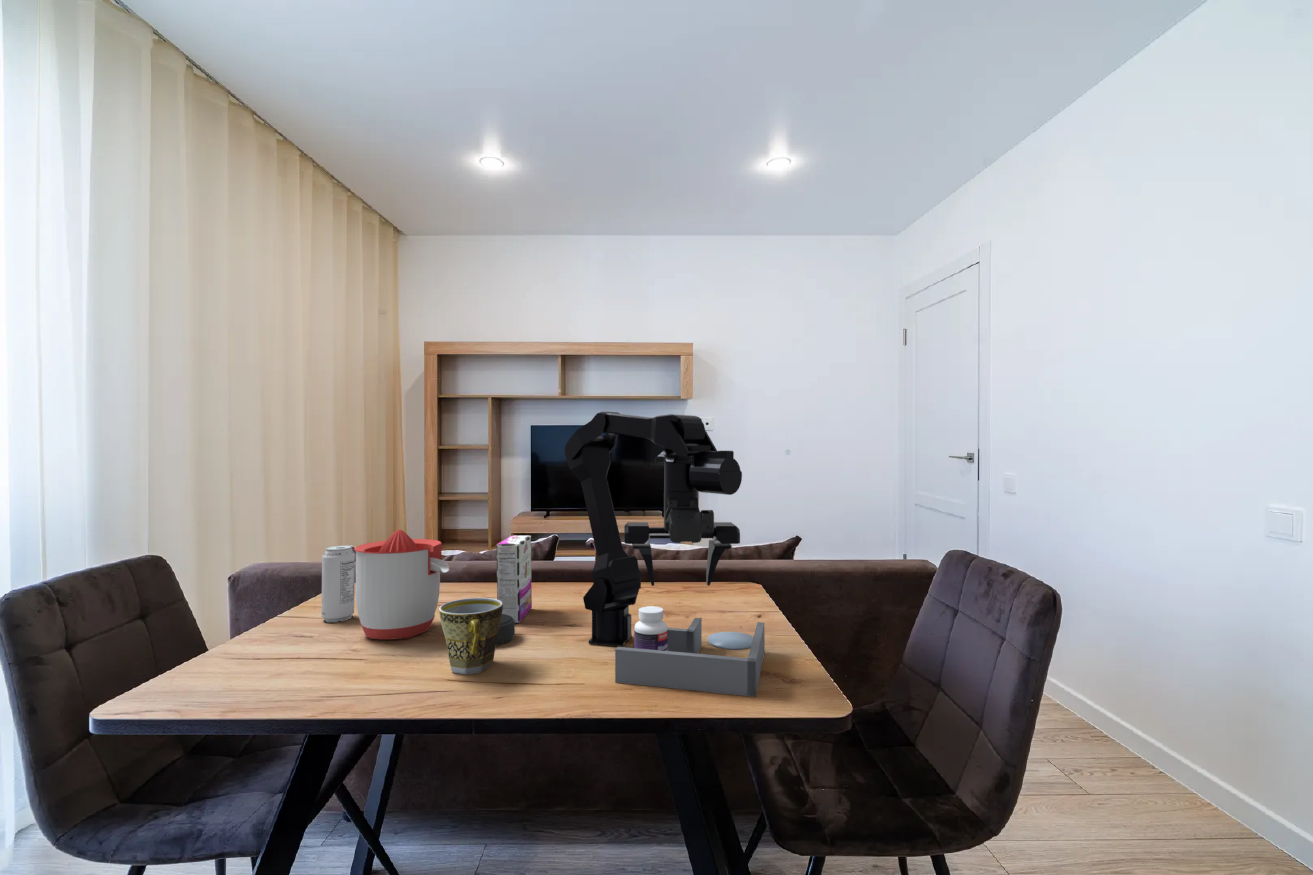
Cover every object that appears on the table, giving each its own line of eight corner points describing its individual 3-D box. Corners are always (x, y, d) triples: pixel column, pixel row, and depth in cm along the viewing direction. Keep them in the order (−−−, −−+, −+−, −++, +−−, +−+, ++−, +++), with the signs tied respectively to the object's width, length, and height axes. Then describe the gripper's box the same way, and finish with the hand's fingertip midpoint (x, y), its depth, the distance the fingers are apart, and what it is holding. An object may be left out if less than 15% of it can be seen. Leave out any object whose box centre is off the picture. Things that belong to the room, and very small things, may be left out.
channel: (615, 682, 88) (615, 649, 88) (648, 641, 107) (648, 614, 107) (755, 696, 83) (755, 661, 83) (764, 651, 101) (764, 622, 101)
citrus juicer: (430, 645, 105) (431, 535, 105) (335, 645, 105) (336, 535, 105) (461, 620, 120) (461, 524, 121) (379, 619, 121) (379, 523, 121)
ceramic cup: (437, 660, 97) (437, 601, 97) (498, 652, 101) (498, 595, 101) (441, 690, 85) (441, 622, 85) (510, 679, 89) (510, 614, 89)
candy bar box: (509, 608, 129) (510, 535, 129) (532, 608, 129) (532, 535, 129) (495, 623, 118) (495, 543, 118) (519, 623, 118) (519, 543, 118)
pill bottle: (664, 677, 90) (664, 614, 90) (630, 675, 91) (630, 612, 91) (670, 664, 95) (670, 605, 95) (638, 662, 96) (638, 603, 96)
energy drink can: (334, 614, 125) (335, 544, 125) (360, 615, 124) (361, 545, 124) (314, 622, 119) (315, 549, 119) (341, 623, 118) (342, 550, 118)
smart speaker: (475, 632, 113) (475, 612, 113) (520, 633, 112) (520, 612, 112) (457, 648, 104) (458, 626, 104) (506, 648, 103) (506, 626, 103)
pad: (703, 647, 103) (703, 645, 103) (711, 631, 112) (711, 630, 112) (754, 651, 101) (754, 649, 101) (758, 635, 110) (758, 633, 110)
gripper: (625, 494, 87) (624, 598, 87) (748, 495, 88) (747, 597, 88) (624, 488, 98) (623, 581, 98) (733, 489, 99) (732, 580, 99)
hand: (680, 585), depth 95 cm, fingers open, 9 cm apart
